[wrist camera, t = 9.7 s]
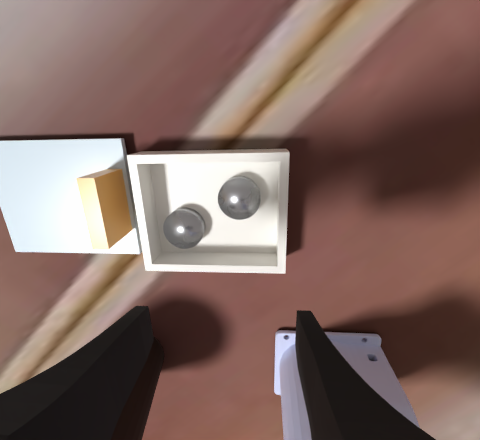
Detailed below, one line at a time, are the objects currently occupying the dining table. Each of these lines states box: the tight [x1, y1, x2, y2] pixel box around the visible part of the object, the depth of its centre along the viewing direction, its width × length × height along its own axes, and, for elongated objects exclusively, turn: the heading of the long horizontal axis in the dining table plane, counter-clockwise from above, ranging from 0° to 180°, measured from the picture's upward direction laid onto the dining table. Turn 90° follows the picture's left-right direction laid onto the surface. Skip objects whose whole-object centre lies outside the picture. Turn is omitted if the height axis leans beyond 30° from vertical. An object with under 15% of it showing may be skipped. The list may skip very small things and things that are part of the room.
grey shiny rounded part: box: [163, 207, 206, 249], centre depth 22 cm, size 3×3×1 cm
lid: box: [0, 138, 142, 254], centre depth 21 cm, size 11×9×5 cm
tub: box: [127, 149, 290, 273], centre depth 21 cm, size 11×9×3 cm
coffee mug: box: [111, 336, 164, 440], centre depth 24 cm, size 12×9×10 cm
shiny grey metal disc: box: [218, 176, 261, 220], centre depth 21 cm, size 3×3×1 cm
